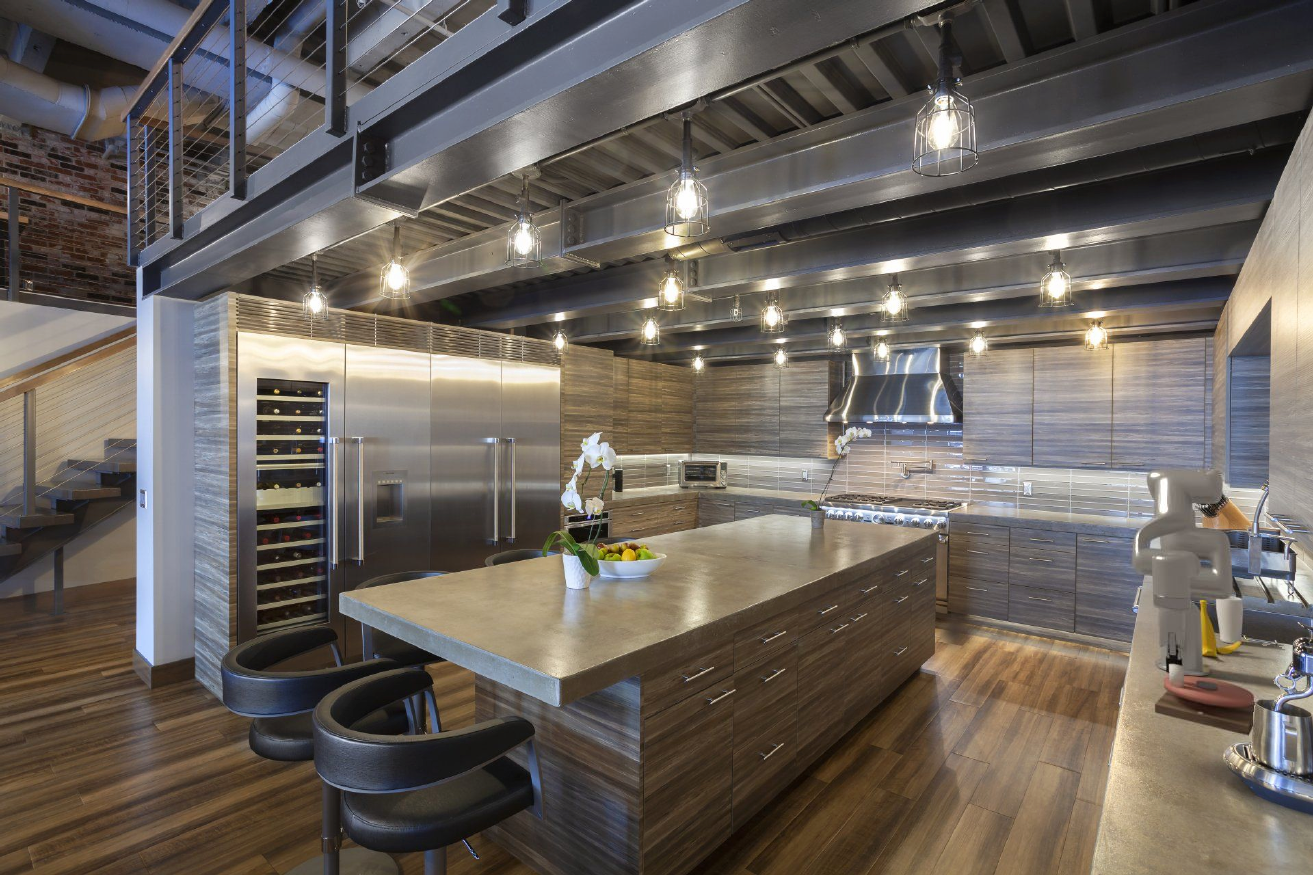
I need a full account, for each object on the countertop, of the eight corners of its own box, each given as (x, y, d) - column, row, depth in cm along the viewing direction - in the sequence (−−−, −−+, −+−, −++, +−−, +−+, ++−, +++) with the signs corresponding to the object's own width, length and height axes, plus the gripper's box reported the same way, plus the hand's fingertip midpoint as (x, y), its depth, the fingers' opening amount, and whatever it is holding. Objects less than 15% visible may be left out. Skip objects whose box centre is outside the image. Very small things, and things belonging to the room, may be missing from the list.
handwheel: (1150, 679, 167) (1149, 654, 167) (1225, 683, 163) (1224, 658, 163) (1187, 704, 151) (1186, 676, 151) (1272, 709, 147) (1271, 682, 147)
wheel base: (1173, 691, 170) (1173, 676, 170) (1261, 711, 157) (1260, 694, 157) (1155, 712, 157) (1154, 695, 157) (1248, 735, 144) (1247, 716, 144)
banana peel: (1166, 642, 213) (1164, 593, 214) (1241, 651, 203) (1239, 600, 203) (1171, 656, 200) (1169, 603, 200) (1252, 666, 189) (1250, 611, 189)
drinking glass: (1250, 645, 209) (1248, 599, 209) (1229, 645, 209) (1227, 600, 209) (1231, 639, 216) (1230, 595, 216) (1212, 639, 216) (1210, 595, 216)
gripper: (1155, 594, 170) (1157, 662, 170) (1151, 605, 159) (1154, 678, 159) (1191, 598, 165) (1194, 668, 165) (1190, 610, 154) (1193, 685, 154)
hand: (1174, 673), depth 162 cm, fingers closed
